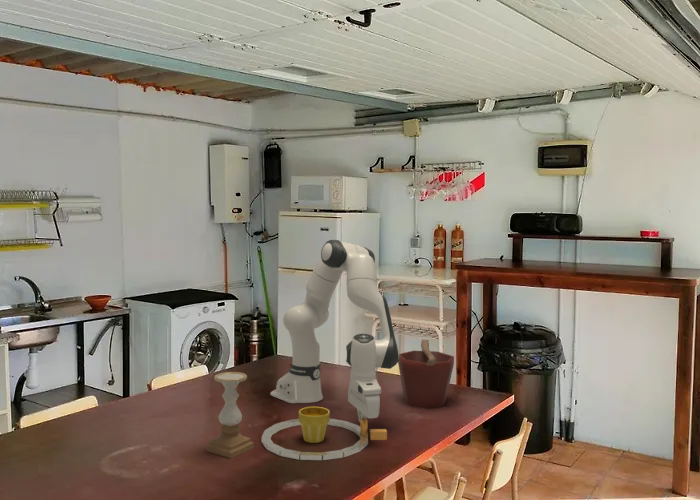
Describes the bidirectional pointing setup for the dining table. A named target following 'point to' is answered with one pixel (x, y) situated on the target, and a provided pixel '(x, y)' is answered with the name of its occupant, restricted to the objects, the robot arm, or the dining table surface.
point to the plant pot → (314, 423)
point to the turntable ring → (345, 452)
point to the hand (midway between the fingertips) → (362, 422)
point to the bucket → (425, 376)
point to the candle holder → (230, 420)
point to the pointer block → (378, 434)
